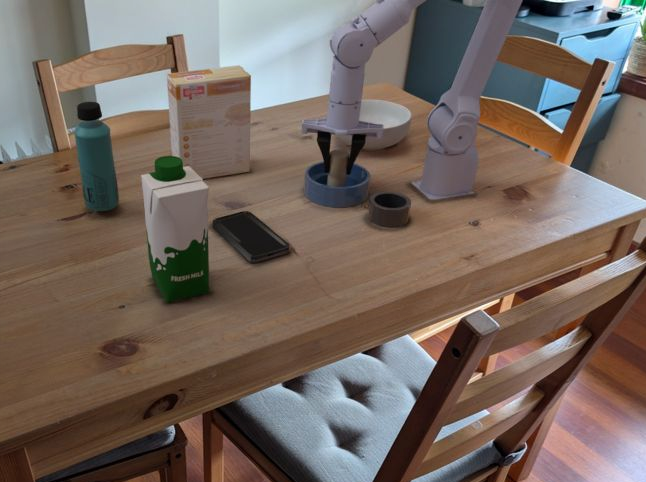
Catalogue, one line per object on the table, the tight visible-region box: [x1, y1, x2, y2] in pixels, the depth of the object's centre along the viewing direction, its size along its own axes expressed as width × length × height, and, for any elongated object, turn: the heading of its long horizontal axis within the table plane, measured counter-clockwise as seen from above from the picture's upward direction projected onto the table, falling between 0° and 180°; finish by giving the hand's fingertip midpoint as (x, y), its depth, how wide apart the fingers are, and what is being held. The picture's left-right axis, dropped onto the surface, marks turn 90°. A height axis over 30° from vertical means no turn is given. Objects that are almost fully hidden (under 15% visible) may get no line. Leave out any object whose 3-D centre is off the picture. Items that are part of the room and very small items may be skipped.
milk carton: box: [140, 155, 210, 304], centre depth 102 cm, size 9×9×20 cm
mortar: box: [367, 191, 412, 229], centre depth 124 cm, size 7×7×4 cm
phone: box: [212, 210, 290, 264], centre depth 120 cm, size 8×1×15 cm
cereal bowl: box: [336, 99, 412, 152], centre depth 150 cm, size 17×17×7 cm
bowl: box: [303, 160, 372, 208], centre depth 131 cm, size 12×12×4 cm
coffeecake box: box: [166, 64, 252, 180], centre depth 136 cm, size 15×7×20 cm, turn 108°
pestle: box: [327, 148, 350, 187], centre depth 130 cm, size 4×4×8 cm
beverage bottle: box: [73, 101, 120, 212], centre depth 122 cm, size 6×7×20 cm
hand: (337, 171), depth 130 cm, fingers closed on pestle, 3 cm apart
